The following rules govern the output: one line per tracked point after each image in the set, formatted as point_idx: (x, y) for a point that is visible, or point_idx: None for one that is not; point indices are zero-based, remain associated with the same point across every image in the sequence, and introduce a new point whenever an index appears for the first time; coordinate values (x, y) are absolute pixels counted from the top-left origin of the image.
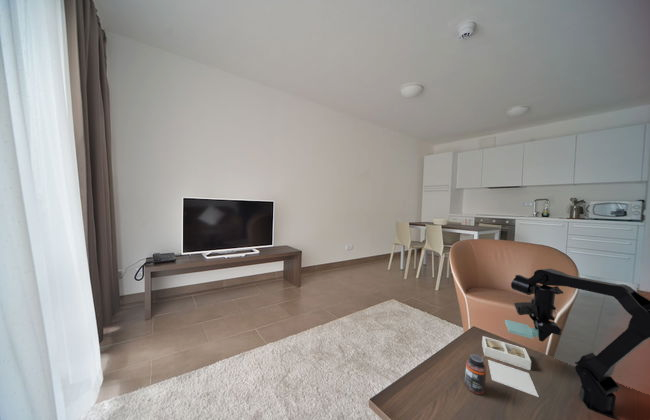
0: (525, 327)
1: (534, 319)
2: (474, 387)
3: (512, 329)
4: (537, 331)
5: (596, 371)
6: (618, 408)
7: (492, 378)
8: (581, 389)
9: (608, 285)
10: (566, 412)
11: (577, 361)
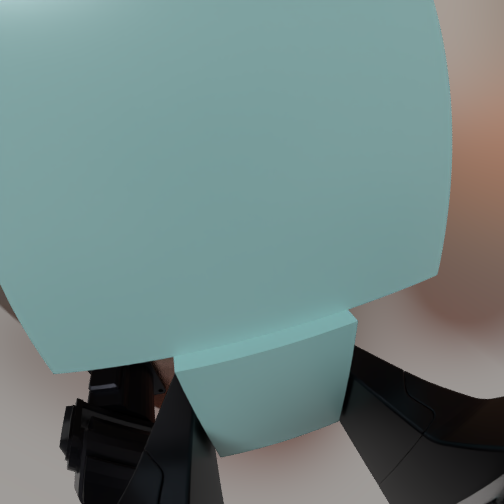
0: (341, 254)
1: (460, 466)
2: None
3: None
4: (268, 408)
5: (75, 489)
6: None
7: None
8: (107, 377)
9: None
10: (6, 306)
11: (106, 467)
